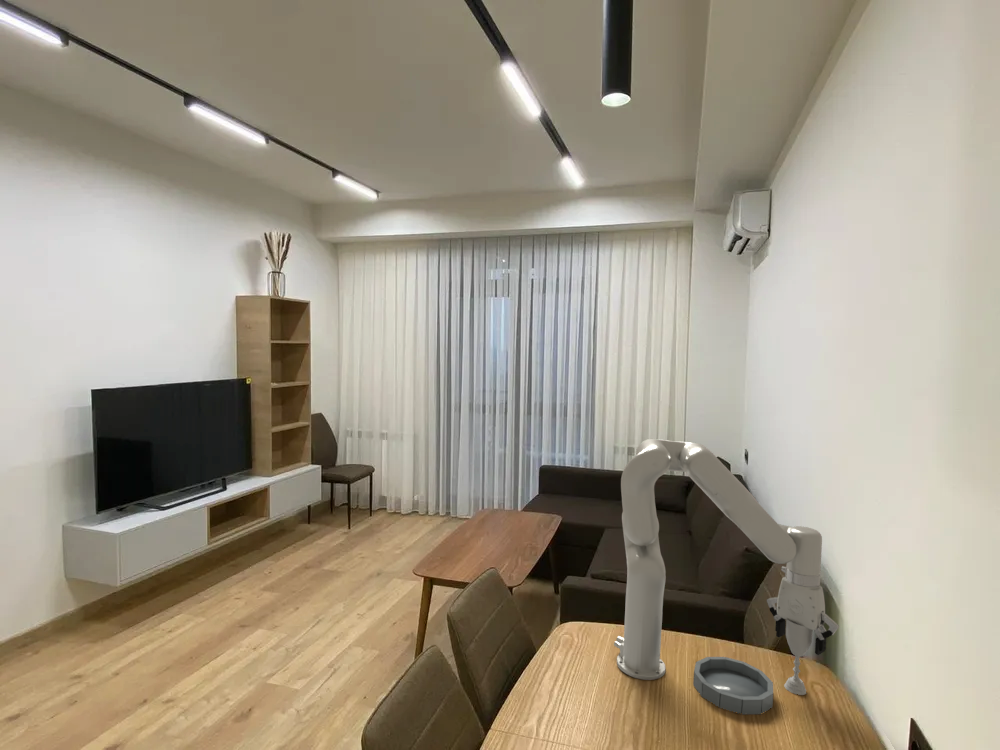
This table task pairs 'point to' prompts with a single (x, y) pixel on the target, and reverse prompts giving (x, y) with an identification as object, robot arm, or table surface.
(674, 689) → the table surface
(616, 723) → the table surface
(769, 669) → the table surface
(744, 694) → the bowl
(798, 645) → the chalice
